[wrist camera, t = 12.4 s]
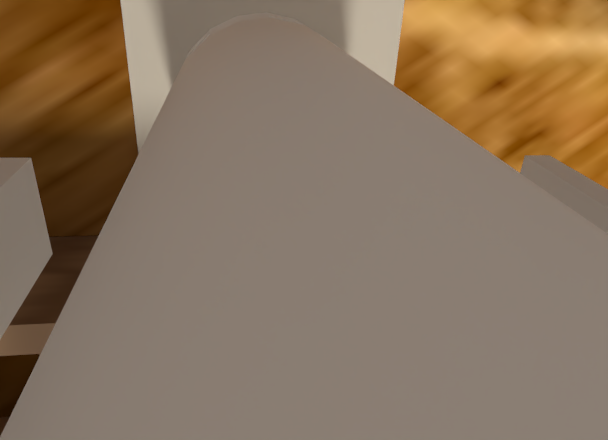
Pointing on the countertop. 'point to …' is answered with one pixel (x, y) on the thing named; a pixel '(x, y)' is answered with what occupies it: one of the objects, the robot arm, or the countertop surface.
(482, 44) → the countertop surface
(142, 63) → the coaster
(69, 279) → the carrier
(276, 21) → the bottle
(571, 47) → the countertop surface
